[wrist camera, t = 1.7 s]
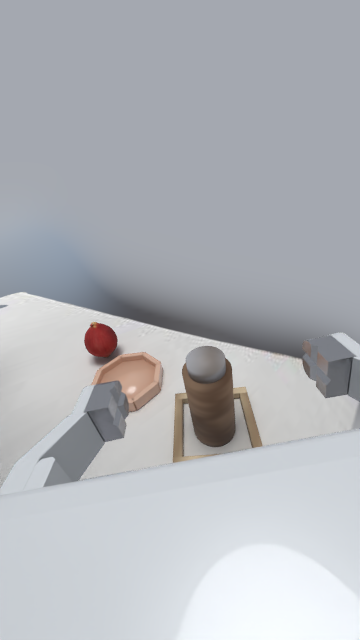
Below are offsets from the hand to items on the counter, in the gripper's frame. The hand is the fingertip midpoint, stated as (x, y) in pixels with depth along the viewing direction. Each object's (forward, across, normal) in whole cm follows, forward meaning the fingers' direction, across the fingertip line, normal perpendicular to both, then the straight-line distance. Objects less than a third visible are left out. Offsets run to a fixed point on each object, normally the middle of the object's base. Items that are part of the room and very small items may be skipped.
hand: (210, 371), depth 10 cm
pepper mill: (+12, +1, +19) cm, 23 cm away
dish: (+22, +13, +18) cm, 31 cm away
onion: (+30, +18, +17) cm, 39 cm away
